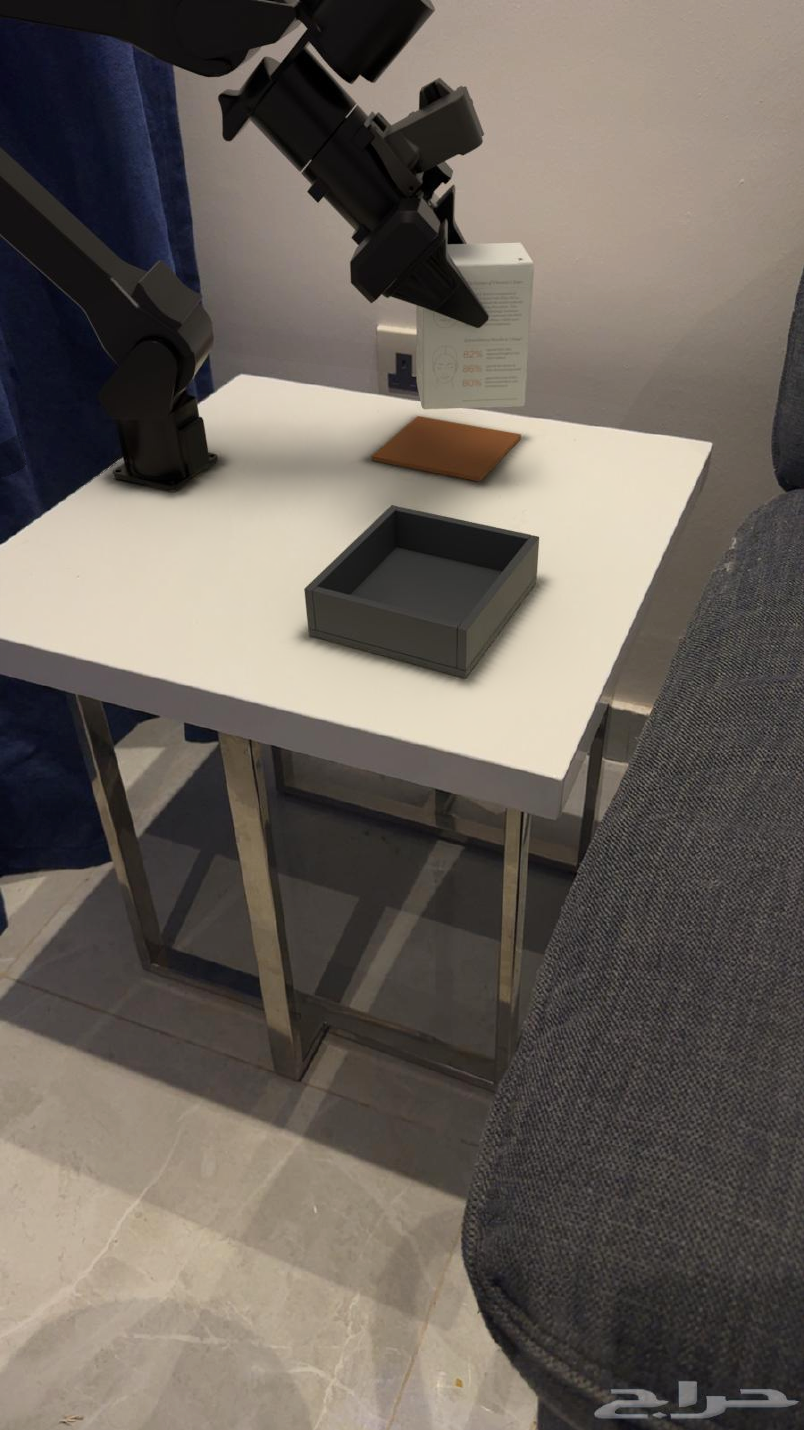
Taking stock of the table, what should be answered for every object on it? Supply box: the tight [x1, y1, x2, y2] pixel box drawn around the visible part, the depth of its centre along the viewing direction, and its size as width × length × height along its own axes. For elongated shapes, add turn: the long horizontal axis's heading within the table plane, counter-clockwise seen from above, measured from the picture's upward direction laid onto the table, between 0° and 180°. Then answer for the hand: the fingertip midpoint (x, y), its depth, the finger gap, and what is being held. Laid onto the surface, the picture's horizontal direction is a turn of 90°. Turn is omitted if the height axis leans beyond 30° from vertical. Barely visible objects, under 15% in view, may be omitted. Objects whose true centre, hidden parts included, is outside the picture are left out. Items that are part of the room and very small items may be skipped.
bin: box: [303, 504, 540, 679], centre depth 68 cm, size 11×12×4 cm
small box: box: [415, 242, 535, 410], centre depth 77 cm, size 8×6×10 cm
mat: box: [370, 415, 522, 483], centre depth 88 cm, size 10×9×1 cm
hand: (485, 308), depth 76 cm, fingers closed on small box, 6 cm apart
